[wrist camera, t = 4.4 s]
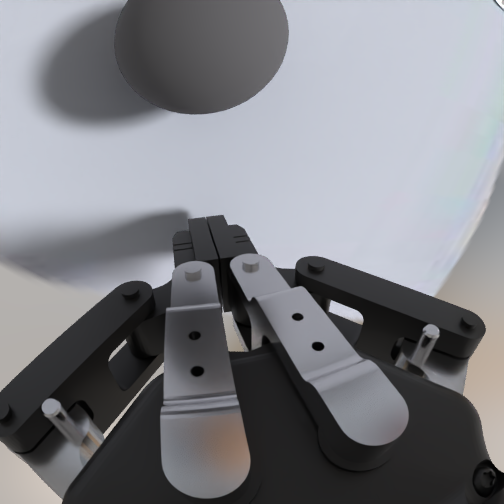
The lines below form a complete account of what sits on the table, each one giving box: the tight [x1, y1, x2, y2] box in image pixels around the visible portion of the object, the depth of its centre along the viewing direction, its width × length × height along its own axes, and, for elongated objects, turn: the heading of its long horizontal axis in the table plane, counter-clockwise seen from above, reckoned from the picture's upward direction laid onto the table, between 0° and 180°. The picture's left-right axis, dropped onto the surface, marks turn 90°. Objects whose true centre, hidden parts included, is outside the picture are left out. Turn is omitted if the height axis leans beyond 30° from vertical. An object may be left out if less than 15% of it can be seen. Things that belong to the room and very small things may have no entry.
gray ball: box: [114, 0, 289, 114], centre depth 8 cm, size 6×6×6 cm
